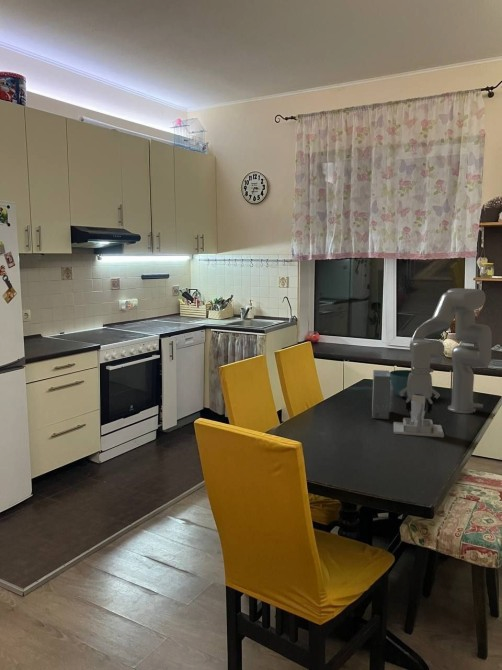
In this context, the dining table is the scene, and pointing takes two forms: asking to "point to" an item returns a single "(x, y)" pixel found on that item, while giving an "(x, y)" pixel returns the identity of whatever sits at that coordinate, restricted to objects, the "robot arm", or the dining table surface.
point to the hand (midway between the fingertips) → (418, 411)
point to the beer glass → (417, 409)
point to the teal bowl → (399, 380)
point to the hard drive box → (381, 394)
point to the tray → (400, 430)
